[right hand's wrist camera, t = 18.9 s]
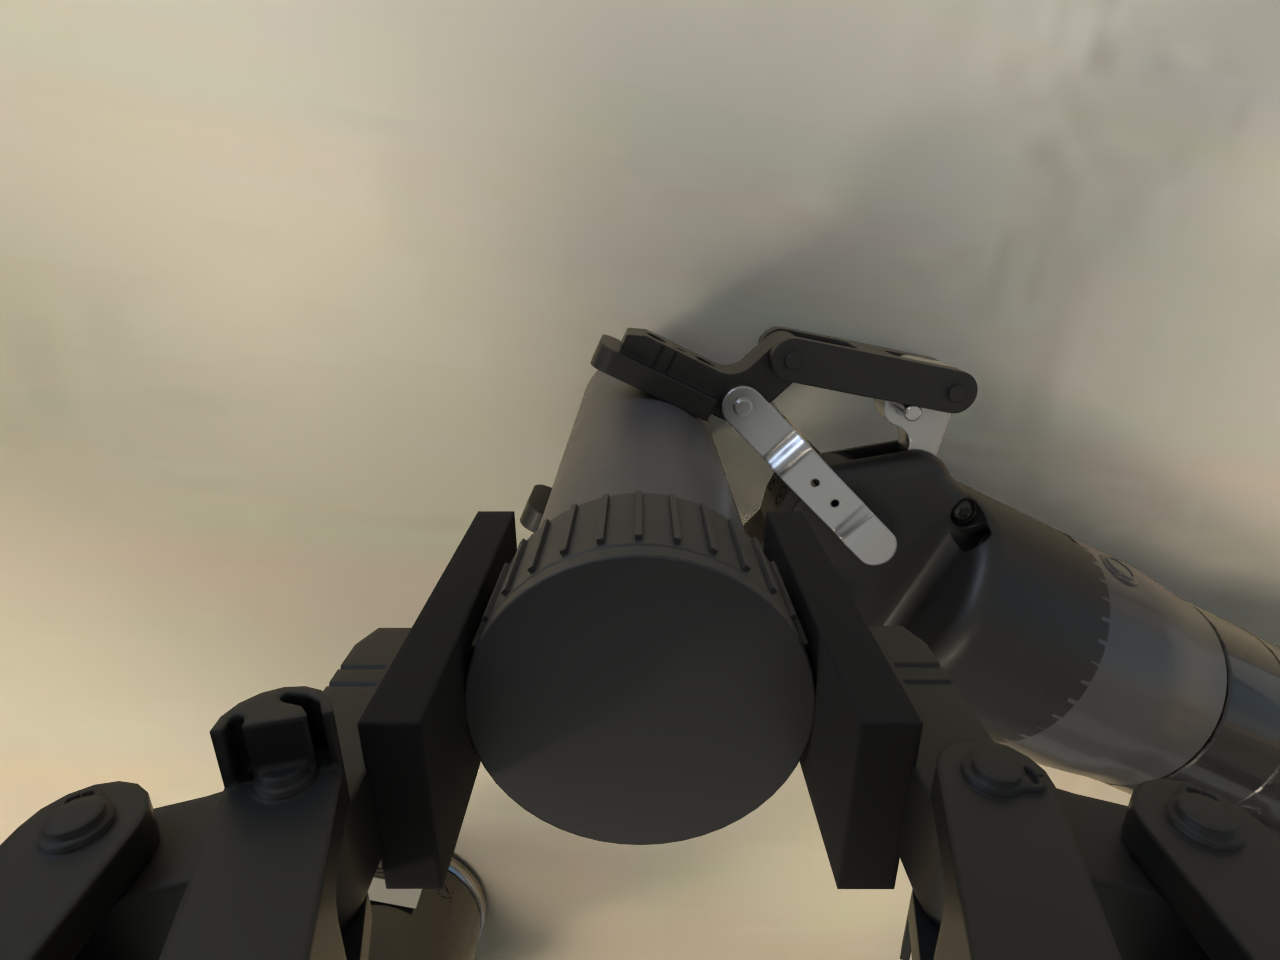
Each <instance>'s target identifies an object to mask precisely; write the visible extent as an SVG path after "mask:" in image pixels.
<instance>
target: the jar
mask: <svg viewBox="0 0 1280 960" xmlns="http://www.w3.org/2000/svg"><path fill="white" fill-rule="evenodd" d="M636 491H642V493H645V494H661V495H666V496H669V494H670V493H671V494H675V495H676V497H677V498H681V499H685V500H688V501H691V502H694V503H698V504H700V505H701V503H702V502H703V503H705V504H707V505H708V508H709V509H711V510H713V511H716V512H717V513H719V514H721V515H722V516H724V517H725V518H727V519H730V518H731V517H732V518H733V519H735V520H736V523H737V526H738V527H739V528H741V529H742V530H743V531H744V532H745V530H744V527H743V524H742V522H741V519H740V516H739V513H738V510H737V507H736V504H735V501H734V498H733V496H732V493H731V490H730V487H729V484H728V481H727V478H726V475H725V472H724V469H723V467H722V464H721V461H720V458H719V455H718V452H717V449H716V446H715V443H714V440H713V438H712V435H711V432H710V429H709V426H708V423H707V421H705V420H703V419H701V418H698V417H696V416H694V415H692V414H690V413H688V412H686V411H684V410H682V409H680V408H678V407H676V406H674V405H671V404H669V403H667V402H665V401H663V400H660V399H658V398H656V397H654V396H652V395H650V394H648V393H646V392H643V391H641V390H639V389H637V388H635V387H633V386H631V385H629V384H627V383H624V382H622V381H620V380H618V379H616V378H614V377H612V376H610V375H608V374H605V373H603V372H601V371H600V370H598V371H597V372H596V373H595V375H594V376H593V377H592V379H591V380H590V382H589V384H588V386H587V388H586V391H585V394H584V397H583V400H582V402H581V405H580V408H579V411H578V414H577V417H576V420H575V423H574V426H573V429H572V432H571V435H570V438H569V441H568V443H567V446H566V449H565V452H564V455H563V458H562V461H561V464H560V467H559V470H558V473H557V476H556V479H555V482H554V485H553V487H552V490H551V493H550V496H549V499H548V502H547V505H546V508H545V511H544V514H543V517H542V520H541V523H540V526H539V529H540V528H541V526H542V523H543V521H544V520H546V519H548V520H549V521H550V520H552V519H553V518H555V517H556V516H558V515H559V514H561V513H563V512H565V511H567V510H569V509H570V506H571V505H573V504H575V503H576V504H577V506H578V505H580V504H583V503H586V502H589V501H592V500H595V499H598V498H602V495H604V494H608V495H609V496H614V495H620V494H634V493H636Z"/></svg>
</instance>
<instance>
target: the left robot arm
mask: <svg viewBox="0 0 1280 960" xmlns="http://www.w3.org/2000/svg"><path fill="white" fill-rule="evenodd" d="M591 365H592V366H594V367H595V368H596V369H598V370H600V371H601V372H603V373H605V374H608V375H610V376H612V377H614V378H616V379H618V380H620V381H622V382H624V383H627V384H629V385H631V386H633V387H635V388H637V389H639V390H641V391H643V392H646V393H648V394H650V395H652V396H654V397H656V398H658V399H660V400H663V401H665V402H667V403H669V404H671V405H674V406H676V407H678V408H680V409H682V410H684V411H686V412H688V413H690V414H692V415H694V416H696V417H698V418H701V419H703V420H705V421H707V419H708V418H709V416H710V414H713V415H715V416H717V417H719V418H721V419H723V420H725V421H727V422H728V423H729V424H730V425H731V426H732V427H733V428H734V429H735V430H736V431H737V432H738V433H739V434H740V435H741V436H742V437H743V438H744V439H745V440H746V441H747V442H748V443H749V444H750V445H751V446H752V447H753V448H754V449H755V450H756V451H757V452H758V453H759V454H760V455H761V456H762V457H763V458H764V459H765V460H766V462H767V463H768V464H769V465H770V466H771V468H772V469H773V470H774V471H775V472H774V474H773V476H772V478H771V479H770V481H769V483H768V484H767V486H766V490H765V494H764V497H763V501H762V505H761V508H760V509H759V511H758V512H757V513H756V514H755V515H754V516H753V517H752V518H751V519H750V520H749V521H748V522H747V523H746V524H745V525H744V526H743V527H744V530H745V533H747V534H748V535H749V536H750V537H751V539H753V538H754V537H756V538H757V539H758V540H759V543H760V545H761V548H762V550H764V535H765V521H766V512H803V514H804V516H805V518H806V519H807V521H808V523H809V525H810V526H811V528H812V530H813V532H814V533H815V535H816V537H817V539H818V540H819V542H820V544H821V546H822V547H823V549H824V551H825V553H826V554H827V556H828V558H829V560H830V561H831V563H832V565H833V567H834V568H835V570H836V572H837V574H838V575H839V577H840V579H841V581H842V582H843V584H844V586H845V588H846V589H847V591H848V593H849V595H850V596H851V598H852V600H853V602H854V603H855V605H856V607H857V609H858V610H859V612H860V614H861V616H862V617H863V619H864V621H865V623H866V624H867V626H903V627H904V628H906V629H907V630H908V631H910V632H911V633H913V634H914V635H915V636H917V637H918V638H919V639H921V640H922V641H924V642H925V643H926V644H927V645H928V647H929V648H930V650H931V651H932V653H933V654H934V656H935V657H936V658H937V660H938V661H939V663H940V667H943V669H944V670H945V671H946V673H947V674H948V676H949V677H950V679H951V683H952V684H954V685H955V686H956V687H957V689H958V690H959V692H960V693H961V695H962V696H963V698H964V699H965V700H966V702H967V703H968V705H969V706H970V708H971V709H972V711H973V712H974V714H975V715H976V716H977V718H978V719H979V721H980V722H981V724H982V725H983V727H984V728H985V730H986V731H987V732H988V734H989V735H990V737H991V738H992V740H993V741H994V742H996V743H1000V744H1003V745H1007V746H1009V747H1011V748H1013V749H1014V750H1016V751H1018V752H1020V753H1022V754H1024V755H1026V756H1028V757H1029V758H1030V759H1031V760H1033V761H1034V762H1036V763H1039V764H1042V765H1045V766H1048V767H1051V768H1055V769H1059V770H1062V771H1066V772H1070V773H1074V774H1078V775H1083V776H1087V777H1089V778H1092V779H1095V780H1098V781H1101V782H1103V783H1105V784H1108V785H1110V786H1112V787H1115V788H1117V789H1120V790H1122V791H1124V792H1127V793H1129V794H1131V795H1132V793H1133V790H1134V789H1135V788H1136V787H1138V786H1139V785H1140V784H1141V783H1142V782H1143V781H1148V780H1155V779H1162V778H1163V779H1170V780H1176V781H1183V782H1188V783H1191V784H1194V785H1196V786H1199V787H1203V788H1205V789H1208V790H1211V791H1213V792H1215V793H1217V794H1219V795H1221V796H1223V797H1225V798H1226V799H1228V800H1230V801H1232V802H1234V803H1236V804H1237V805H1239V806H1241V807H1242V808H1244V809H1245V810H1246V811H1247V812H1249V813H1250V814H1251V815H1252V816H1254V817H1255V818H1256V819H1257V820H1259V821H1260V822H1261V823H1262V824H1264V825H1265V826H1266V827H1267V828H1268V829H1269V830H1270V831H1271V832H1272V833H1273V834H1274V835H1275V836H1276V837H1277V838H1278V839H1279V840H1280V647H1277V646H1275V645H1272V644H1270V643H1268V642H1266V641H1264V640H1262V639H1261V638H1259V637H1257V636H1255V635H1253V634H1252V633H1250V632H1248V631H1246V630H1244V629H1243V628H1241V627H1238V626H1237V625H1234V624H1232V623H1230V622H1228V621H1226V620H1224V619H1222V618H1220V617H1218V616H1216V615H1214V614H1212V613H1210V612H1208V611H1206V610H1204V609H1201V608H1199V607H1197V606H1195V605H1193V604H1191V603H1189V602H1187V601H1185V600H1183V599H1181V598H1179V597H1177V596H1175V595H1174V594H1172V593H1171V592H1169V591H1168V590H1166V589H1165V588H1164V587H1162V586H1161V585H1160V584H1158V583H1157V582H1155V581H1154V580H1152V579H1151V578H1149V577H1148V576H1146V575H1145V574H1143V573H1141V572H1140V571H1138V570H1137V569H1135V568H1133V567H1131V566H1129V565H1127V564H1126V563H1124V562H1122V561H1120V560H1118V559H1116V558H1114V557H1111V556H1109V555H1107V554H1105V553H1103V552H1101V551H1099V550H1097V549H1095V548H1093V547H1091V546H1089V545H1087V544H1085V543H1082V542H1080V541H1078V540H1076V539H1074V538H1072V537H1070V536H1068V535H1066V534H1064V533H1062V532H1060V531H1058V530H1056V529H1054V528H1052V527H1050V526H1048V525H1046V524H1044V523H1042V522H1040V521H1038V520H1035V519H1033V518H1031V517H1029V516H1027V515H1025V514H1023V513H1021V512H1019V511H1017V510H1015V509H1013V508H1011V507H1009V506H1007V505H1005V504H1003V503H1001V502H998V501H996V500H994V499H992V498H990V497H988V496H986V495H984V494H982V493H980V492H978V491H976V490H974V489H972V488H970V487H968V486H966V485H964V484H961V483H959V482H957V481H955V480H954V479H953V478H952V477H951V475H950V474H949V472H948V470H947V468H946V466H945V465H944V463H943V462H942V461H941V460H940V459H939V458H938V457H936V456H937V453H938V450H939V447H940V445H941V442H942V439H943V436H944V434H945V431H946V428H947V425H948V423H949V420H950V417H951V415H952V413H959V412H962V411H964V410H966V409H967V408H968V407H969V406H970V405H971V404H972V403H973V402H974V400H975V398H976V395H977V383H976V381H975V379H974V378H973V377H972V376H971V375H970V374H968V373H966V372H963V371H961V370H959V369H957V368H955V367H953V366H950V365H948V364H946V363H943V362H941V361H938V360H936V359H934V358H931V357H927V356H922V355H917V354H912V353H908V352H903V351H898V350H893V349H888V348H883V347H878V346H873V345H868V344H863V343H858V342H853V341H848V340H843V339H839V338H834V337H829V336H824V335H819V334H814V333H809V332H804V331H799V330H794V329H789V328H784V327H773V328H770V329H768V330H767V331H765V332H764V333H763V334H762V336H761V337H760V339H759V342H758V345H757V346H756V347H755V348H754V349H753V350H752V351H750V352H749V353H748V354H747V355H746V356H745V357H744V358H743V359H742V360H740V361H738V362H737V363H734V364H730V365H720V364H716V363H714V362H712V361H710V360H708V359H706V358H704V357H702V356H700V355H698V354H695V353H693V352H691V351H689V350H687V349H685V348H683V347H681V346H679V345H677V344H675V343H673V342H671V341H669V340H667V339H665V338H662V337H661V336H659V335H657V334H654V333H652V332H650V331H648V330H646V329H635V328H628V329H627V331H626V333H625V335H624V337H623V339H622V341H620V340H618V339H616V338H613V337H611V336H608V335H602V337H601V339H600V342H599V344H598V346H597V348H596V350H595V353H594V355H593V357H592V360H591ZM793 382H794V383H799V384H804V385H809V386H814V387H819V388H824V389H829V390H834V391H840V392H845V393H850V394H855V395H860V396H865V397H870V398H874V406H875V409H876V411H877V412H878V413H879V414H880V415H881V416H882V417H883V418H885V419H886V420H887V421H889V422H890V423H891V424H893V425H896V426H897V428H898V431H899V438H898V440H896V441H890V442H884V443H878V444H872V445H866V446H860V447H855V448H849V449H843V450H837V451H831V452H825V453H821V452H820V451H819V450H818V449H817V448H816V447H815V446H814V445H813V444H812V443H811V442H810V441H809V440H808V439H807V438H806V436H805V435H804V434H803V433H802V432H801V431H800V430H799V429H798V428H797V427H796V426H795V425H794V424H793V423H792V422H791V421H790V420H789V419H788V418H787V417H786V416H785V415H784V414H783V413H782V412H781V411H780V410H779V409H778V408H777V407H776V406H775V405H774V404H773V403H772V401H773V400H774V399H775V398H776V397H777V396H778V395H779V394H781V393H782V392H783V391H784V390H785V389H786V388H787V387H788V386H789V385H791V384H792V383H793ZM551 490H552V488H550V487H548V486H545V485H535V486H534V488H533V491H532V493H531V495H530V497H529V499H528V502H527V504H526V506H525V509H524V511H523V513H522V516H521V518H520V522H521V524H522V525H523V526H524V527H525V528H527V529H528V530H530V531H532V532H534V533H535V532H536V531H537V530H538V529H539V526H540V523H541V520H542V517H543V514H544V511H545V508H546V505H547V502H548V499H549V496H550V493H551ZM368 895H369V900H370V906H371V913H372V925H371V935H370V945H369V955H368V960H474V958H475V953H476V949H477V944H478V942H479V940H480V938H481V935H482V932H483V927H484V923H485V918H486V900H485V896H484V893H483V890H482V888H481V886H480V884H479V882H478V881H477V879H476V878H475V877H474V875H473V874H472V873H471V872H470V871H469V870H468V869H467V868H466V867H465V866H464V865H463V864H462V863H460V862H459V861H458V860H456V859H455V858H453V857H452V859H451V863H450V866H449V869H448V873H447V876H446V879H445V883H444V886H443V889H386V884H385V879H384V873H383V867H382V862H381V860H380V863H379V865H378V868H377V870H376V873H375V875H374V878H373V880H372V882H371V885H370V887H369V890H368Z"/></svg>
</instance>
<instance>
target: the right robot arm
mask: <svg viewBox="0 0 1280 960" xmlns="http://www.w3.org/2000/svg"><path fill="white" fill-rule="evenodd" d="M516 552H517V544H516V530H515V515H514V512H478V513H477V515H476V517H475V518H474V520H473V522H472V524H471V525H470V527H469V529H468V531H467V532H466V534H465V536H464V538H463V539H462V541H461V543H460V545H459V546H458V548H457V550H456V552H455V553H454V555H453V557H452V559H451V560H450V562H449V564H448V566H447V567H446V569H445V571H444V573H443V574H442V576H441V578H440V580H439V581H438V583H437V585H436V587H435V588H434V590H433V592H432V594H431V595H430V597H429V599H428V601H427V602H426V604H425V606H424V608H423V609H422V611H421V613H420V615H419V616H418V618H417V620H416V622H415V623H414V625H413V627H412V628H378V629H377V630H375V631H374V632H373V633H371V634H370V635H368V636H367V637H366V638H364V639H363V640H361V641H360V642H359V643H357V644H356V645H355V646H354V647H353V649H352V650H351V652H350V653H349V655H348V656H347V657H346V659H345V660H344V662H343V663H342V665H341V669H340V670H338V671H337V672H336V674H335V675H334V676H333V678H332V679H331V681H330V684H329V687H326V688H325V690H324V691H322V690H318V689H314V688H310V687H306V686H301V687H283V688H279V689H275V690H271V691H267V692H264V693H260V694H258V695H256V696H254V697H252V698H249V699H247V700H245V701H243V702H241V703H239V704H237V705H236V706H235V707H233V708H232V709H231V710H229V711H228V712H227V713H225V714H224V715H223V716H221V717H220V719H219V720H218V721H217V723H216V724H215V725H214V727H213V728H212V729H211V731H210V735H211V739H212V742H213V746H214V750H215V753H216V757H217V761H218V765H219V768H220V772H221V776H222V779H223V783H224V787H225V788H224V791H223V792H219V793H216V794H213V795H210V796H206V797H202V798H198V799H194V800H189V801H185V802H181V803H176V804H172V805H168V806H164V807H159V808H155V809H153V807H152V804H151V800H150V797H149V794H148V792H147V791H145V790H144V789H143V788H142V787H141V786H139V785H138V784H135V783H128V782H121V781H117V782H110V783H104V784H97V785H93V786H90V787H87V788H85V789H82V790H79V791H76V792H73V793H70V794H68V795H66V796H64V797H62V798H60V799H59V800H57V801H55V802H53V803H51V804H49V805H48V806H46V807H44V808H42V809H41V810H39V811H38V812H37V813H36V814H34V815H33V816H32V817H31V818H29V819H28V820H27V821H26V822H24V823H23V824H22V825H21V826H19V827H18V828H17V829H16V830H15V831H14V832H13V833H12V834H11V835H10V836H9V837H8V838H7V839H6V840H5V841H4V842H3V843H2V844H1V845H0V960H368V955H369V945H370V935H371V925H372V913H371V906H370V900H369V895H368V890H369V887H370V885H371V882H372V880H373V878H374V875H375V873H376V870H377V868H378V865H379V863H380V860H381V862H382V867H383V873H384V879H385V884H386V889H443V886H444V883H445V879H446V876H447V873H448V869H449V866H450V863H451V859H452V856H453V853H454V849H455V846H456V843H457V839H458V836H459V833H460V829H461V826H462V823H463V819H464V816H465V812H466V809H467V806H468V802H469V799H470V796H471V792H472V789H473V786H474V782H475V779H476V776H477V772H478V769H479V766H480V762H481V760H480V758H479V756H478V754H477V753H476V751H475V748H474V745H473V743H472V740H471V737H470V734H469V731H468V724H467V715H466V705H465V683H466V675H467V671H468V668H469V665H470V661H471V658H472V655H473V652H474V651H471V650H470V647H471V644H472V642H473V639H474V637H475V634H476V632H477V629H478V627H479V624H480V622H481V620H482V617H483V615H484V612H485V610H486V607H487V605H488V602H489V600H490V597H491V595H492V593H493V590H494V588H495V585H496V583H497V580H498V578H499V576H500V573H501V571H502V568H503V566H504V564H505V563H508V564H510V562H511V561H512V559H513V558H514V556H515V554H516ZM763 553H764V554H765V556H766V557H767V559H768V560H769V562H772V561H774V562H775V564H776V566H777V568H778V571H779V573H780V575H781V578H782V580H783V583H784V585H785V587H786V589H787V591H788V594H789V596H790V599H791V601H792V604H793V606H794V609H795V611H796V614H797V616H798V618H799V621H800V623H801V626H802V628H803V631H804V633H805V636H806V638H807V641H808V643H809V647H810V648H809V649H806V652H807V654H808V657H809V661H810V664H811V667H812V670H813V675H814V682H815V689H816V699H815V710H814V719H813V727H812V732H811V735H810V738H809V741H808V743H807V746H806V749H805V751H804V753H803V755H802V757H801V759H800V764H801V768H802V771H803V774H804V778H805V781H806V784H807V788H808V791H809V794H810V798H811V801H812V804H813V808H814V811H815V814H816V818H817V821H818V824H819V828H820V831H821V835H822V838H823V841H824V845H825V848H826V851H827V855H828V858H829V861H830V865H831V868H832V871H833V875H834V878H835V881H836V885H837V888H838V889H894V887H895V881H896V875H897V870H898V864H899V859H901V861H902V863H903V866H904V868H905V871H906V873H907V875H908V878H909V880H910V883H911V885H912V888H913V889H912V895H911V900H910V905H909V910H908V916H907V921H906V926H905V931H904V937H903V942H902V949H901V956H900V959H902V960H909V959H910V954H912V960H1280V840H1279V839H1278V838H1277V837H1276V836H1275V835H1274V834H1273V833H1272V832H1271V831H1270V830H1269V829H1268V828H1267V827H1266V826H1265V825H1264V824H1262V823H1261V822H1260V821H1259V820H1257V819H1256V818H1255V817H1254V816H1252V815H1251V814H1250V813H1249V812H1247V811H1246V810H1245V809H1244V808H1242V807H1241V806H1239V805H1237V804H1236V803H1234V802H1232V801H1230V800H1228V799H1226V798H1225V797H1223V796H1221V795H1219V794H1217V793H1215V792H1213V791H1211V790H1208V789H1205V788H1203V787H1199V786H1196V785H1194V784H1191V783H1188V782H1183V781H1176V780H1170V779H1163V778H1162V779H1155V780H1148V781H1143V782H1142V783H1141V784H1140V785H1139V786H1138V787H1136V788H1135V789H1134V790H1133V793H1132V796H1131V799H1130V802H1129V805H1128V806H1125V805H1120V804H1116V803H1112V802H1108V801H1103V800H1099V799H1095V798H1090V797H1086V796H1082V795H1077V794H1074V793H1070V792H1067V791H1064V790H1061V789H1057V788H1056V787H1055V786H1054V784H1053V782H1052V781H1051V779H1050V778H1049V776H1048V775H1047V773H1046V772H1045V770H1043V769H1042V768H1041V767H1040V766H1039V765H1037V764H1036V763H1035V762H1034V761H1033V760H1031V759H1030V758H1029V757H1028V756H1026V755H1024V754H1022V753H1020V752H1018V751H1016V750H1014V749H1013V748H1011V747H1009V746H1007V745H1003V744H1000V743H996V742H994V741H993V740H992V738H991V737H990V735H989V734H988V732H987V731H986V730H985V728H984V727H983V725H982V724H981V722H980V721H979V719H978V718H977V716H976V715H975V714H974V712H973V711H972V709H971V708H970V706H969V705H968V703H967V702H966V700H965V699H964V698H963V696H962V695H961V693H960V692H959V690H958V689H957V687H956V686H955V685H954V684H952V683H951V679H950V677H949V676H948V674H947V673H946V671H945V670H944V669H943V667H940V663H939V661H938V660H937V658H936V657H935V656H934V654H933V653H932V651H931V650H930V648H929V647H928V645H927V644H926V643H925V642H924V641H922V640H921V639H919V638H918V637H917V636H915V635H914V634H913V633H911V632H910V631H908V630H907V629H906V628H904V627H903V626H867V624H866V623H865V621H864V619H863V617H862V616H861V614H860V612H859V610H858V609H857V607H856V605H855V603H854V602H853V600H852V598H851V596H850V595H849V593H848V591H847V589H846V588H845V586H844V584H843V582H842V581H841V579H840V577H839V575H838V574H837V572H836V570H835V568H834V567H833V565H832V563H831V561H830V560H829V558H828V556H827V554H826V553H825V551H824V549H823V547H822V546H821V544H820V542H819V540H818V539H817V537H816V535H815V533H814V532H813V530H812V528H811V526H810V525H809V523H808V521H807V519H806V518H805V516H804V514H803V512H766V521H765V535H764V550H763Z"/></svg>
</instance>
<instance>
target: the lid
mask: <svg viewBox="0 0 1280 960" xmlns="http://www.w3.org/2000/svg"><path fill="white" fill-rule="evenodd" d="M809 648H810V647H809V643H808V641H807V638H806V636H805V633H804V631H803V628H802V626H801V623H800V621H799V618H798V616H797V614H796V611H795V609H794V606H793V604H792V601H791V599H790V596H789V594H788V591H787V589H786V587H785V585H784V583H783V580H782V578H781V575H780V573H779V571H778V568H777V566H776V564H775V562H774V561H772V562H769V560H768V559H767V557H766V556H765V554H764V553H763V550H762V548H761V545H760V543H759V540H758V539H757V538H756V537H754V538H753V539H751V537H750V536H749V535H748V534H747V533H745V532H744V531H743V530H742V529H741V528H739V527H738V526H737V523H736V520H735V519H733V518H732V517H731V518H730V519H727V518H725V517H724V516H722V515H721V514H719V513H717V512H716V511H713V510H711V509H709V508H708V505H707V504H705V503H703V502H702V503H701V505H700V504H698V503H694V502H691V501H688V500H685V499H681V498H677V497H676V495H675V494H671V493H670V494H669V496H666V495H661V494H645V493H642V491H636V493H634V494H620V495H614V496H609V495H608V494H604V495H602V498H598V499H595V500H592V501H589V502H586V503H583V504H580V505H578V506H577V504H576V503H575V504H573V505H571V506H570V509H569V510H567V511H565V512H563V513H561V514H559V515H558V516H556V517H555V518H553V519H552V520H550V521H549V520H548V519H546V520H544V521H543V523H542V526H541V528H540V529H538V530H537V531H536V532H535V533H534V534H533V535H531V536H530V538H529V539H528V540H527V541H526V540H525V539H523V540H522V541H521V542H520V544H519V546H518V549H517V552H516V554H515V556H514V558H513V559H512V561H511V562H510V564H508V563H505V564H504V566H503V568H502V571H501V573H500V576H499V578H498V580H497V583H496V585H495V588H494V590H493V593H492V595H491V597H490V600H489V602H488V605H487V607H486V610H485V612H484V615H483V617H482V620H481V622H480V624H479V627H478V629H477V632H476V634H475V637H474V639H473V642H472V644H471V647H470V650H471V651H474V652H473V655H472V658H471V661H470V665H469V668H468V671H467V675H466V683H465V705H466V715H467V724H468V731H469V734H470V737H471V740H472V743H473V745H474V748H475V751H476V753H477V754H478V756H479V758H480V760H481V762H482V764H483V766H484V767H485V769H486V770H487V771H488V773H489V774H490V776H491V777H492V778H493V780H494V781H495V782H496V783H497V784H498V786H499V787H500V788H501V789H502V790H503V791H504V792H505V793H506V794H507V795H508V796H509V797H510V798H511V799H513V800H514V801H515V802H516V803H518V804H519V805H520V806H521V807H523V808H524V809H525V810H527V811H528V812H530V813H531V814H533V815H535V816H536V817H538V818H539V819H541V820H543V821H545V822H547V823H549V824H551V825H553V826H555V827H557V828H559V829H562V830H564V831H567V832H570V833H573V834H575V835H578V836H582V837H586V838H590V839H594V840H598V841H603V842H610V843H617V844H633V845H648V844H664V843H670V842H677V841H683V840H687V839H691V838H695V837H698V836H702V835H705V834H708V833H711V832H713V831H716V830H719V829H721V828H724V827H726V826H727V825H729V824H731V823H733V822H735V821H737V820H739V819H741V818H743V817H744V816H746V815H747V814H749V813H750V812H752V811H754V810H755V809H757V808H758V807H759V806H760V805H762V804H763V803H764V802H765V801H766V800H768V799H769V798H770V797H771V796H772V795H773V794H774V793H775V792H776V791H777V790H778V789H779V788H780V787H781V786H782V785H783V784H784V783H785V781H786V780H787V779H788V777H789V776H790V775H791V773H792V772H793V770H794V769H795V768H796V766H797V764H798V763H799V761H800V759H801V757H802V755H803V753H804V751H805V749H806V746H807V743H808V741H809V738H810V735H811V732H812V727H813V719H814V710H815V699H816V689H815V682H814V675H813V670H812V667H811V664H810V661H809V657H808V654H807V652H806V649H809Z"/></svg>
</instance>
